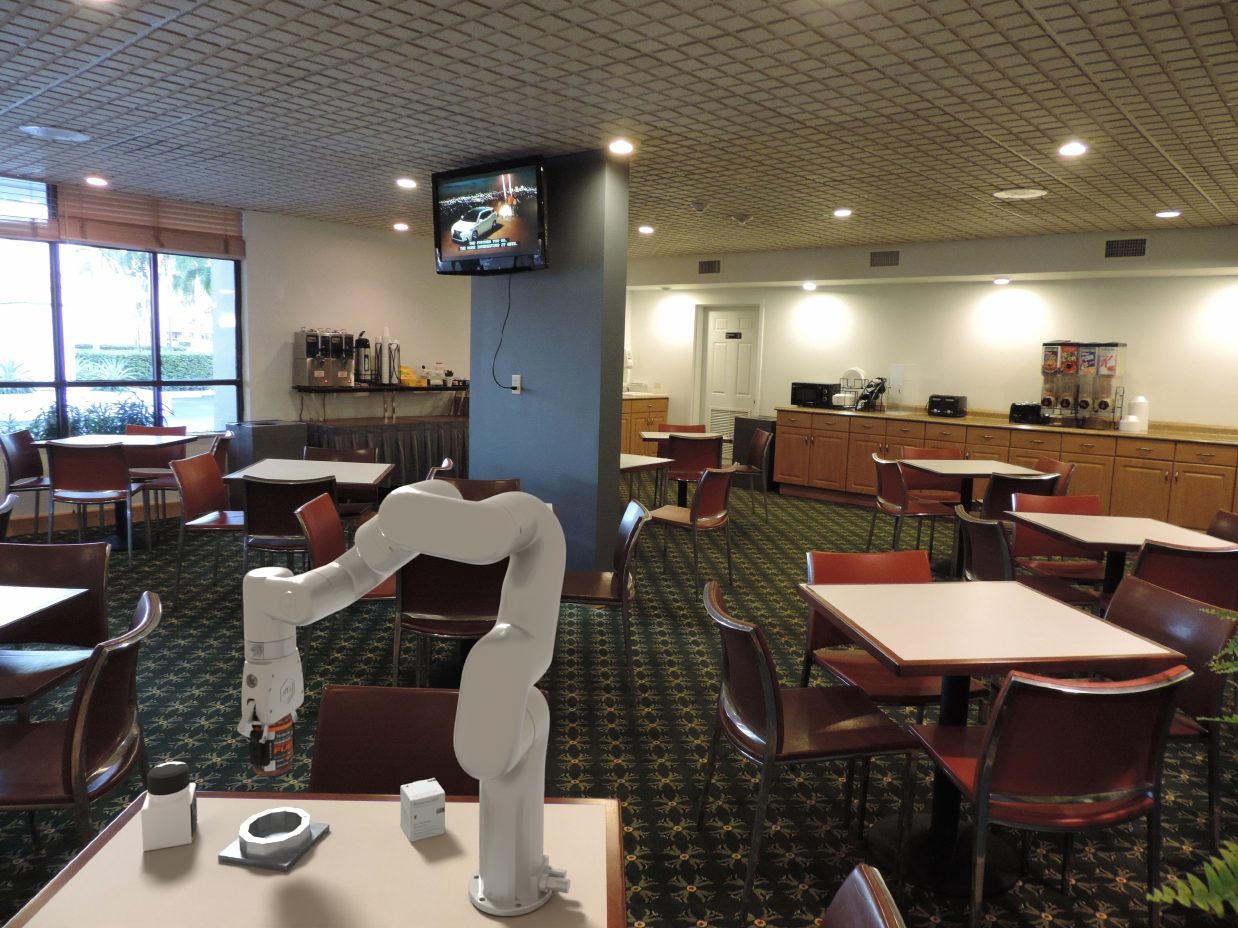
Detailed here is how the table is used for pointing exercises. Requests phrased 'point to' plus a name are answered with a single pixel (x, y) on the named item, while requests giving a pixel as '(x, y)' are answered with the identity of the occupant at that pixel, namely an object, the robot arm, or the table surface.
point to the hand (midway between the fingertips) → (273, 753)
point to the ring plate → (277, 861)
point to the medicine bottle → (169, 807)
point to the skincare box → (422, 809)
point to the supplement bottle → (278, 748)
